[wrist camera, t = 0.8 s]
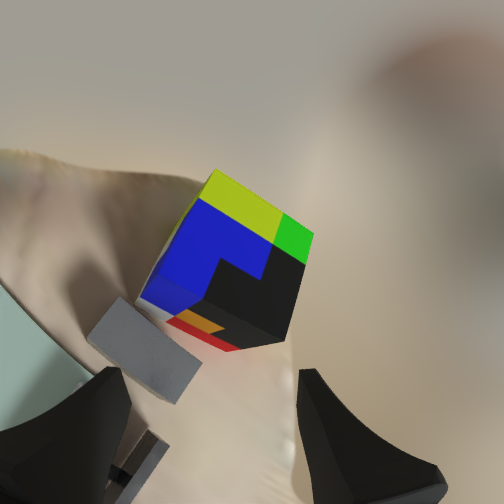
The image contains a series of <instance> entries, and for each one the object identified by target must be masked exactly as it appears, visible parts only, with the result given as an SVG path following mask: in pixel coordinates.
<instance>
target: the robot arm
mask: <svg viewBox="0 0 504 504" xmlns="http://www.w3.org/2000/svg"><path fill="white" fill-rule="evenodd" d="M131 404H132V402H131V399H130V396H129V394H128V391H127V388H126V385H125V382H124V379H123V376H122V372H121V369H120V368H119V367H109V366H107V367H106V368H104V369H103V370H102V371H100V372H99V373H98V374H97V375H95V376H94V377H93V378H92V379H90V380H89V381H88V382H87V383H85V384H84V385H83V386H82V387H80V388H79V389H78V390H77V391H75V392H74V393H73V394H71V395H70V396H69V397H67V398H66V399H64V400H63V401H62V402H60V403H59V404H57V405H56V406H54V407H53V408H51V409H50V410H48V411H46V412H44V413H43V414H41V415H39V416H37V417H35V418H33V419H31V420H29V421H26V422H24V423H22V424H20V425H17V426H14V427H12V428H9V429H6V430H2V431H0V504H103V499H104V493H105V487H106V482H107V478H108V474H109V469H110V466H111V463H112V460H113V458H114V455H115V452H116V450H117V447H118V445H119V442H120V440H121V437H122V435H123V432H124V429H125V427H126V424H127V421H128V417H129V413H130V408H131ZM296 407H297V416H298V425H299V430H300V434H301V438H302V443H303V447H304V450H305V454H306V459H307V463H308V467H309V471H310V476H311V482H312V491H313V500H314V504H438V503H439V501H440V500H441V499H442V498H443V497H444V495H445V494H446V493H447V491H448V485H447V483H446V481H445V478H444V476H443V475H442V473H441V471H440V470H439V469H438V467H437V466H436V465H434V464H431V463H429V462H426V461H423V460H421V459H418V458H416V457H414V456H412V455H410V454H407V453H405V452H404V451H402V450H400V449H398V448H396V447H395V446H393V445H392V444H390V443H388V442H387V441H385V440H384V439H382V438H381V437H379V436H378V435H377V434H375V433H374V432H373V431H371V430H370V429H369V428H368V427H366V426H365V425H364V424H363V423H362V422H361V421H360V420H358V419H357V418H356V417H355V416H354V415H353V414H352V413H351V412H350V411H349V410H348V409H347V408H346V407H345V405H344V404H343V403H342V402H341V401H340V400H339V399H338V398H337V396H336V395H335V394H334V393H333V392H332V390H331V389H330V388H329V386H328V385H327V384H326V383H325V381H324V380H323V379H322V377H321V375H320V374H319V373H318V371H317V370H316V369H301V370H299V380H298V393H297V404H296Z"/></svg>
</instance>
